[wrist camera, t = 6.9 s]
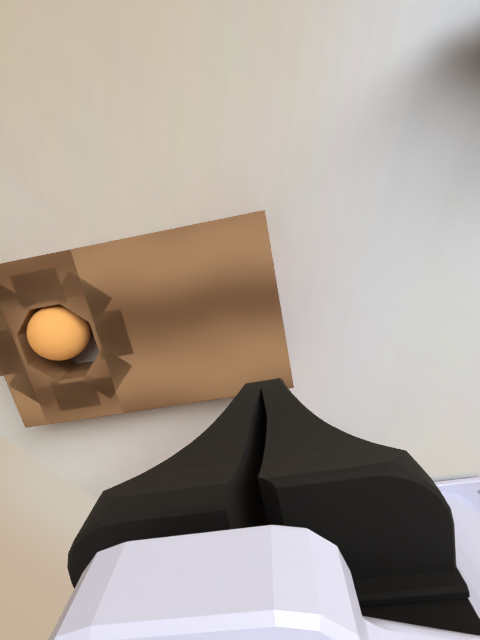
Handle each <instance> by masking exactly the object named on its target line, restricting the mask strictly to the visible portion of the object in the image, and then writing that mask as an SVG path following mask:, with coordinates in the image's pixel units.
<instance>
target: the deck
mask: <svg viewBox="0 0 480 640" xmlns="http://www.w3.org/2000/svg"><path fill="white" fill-rule="evenodd" d="M57 304H61V305H62V306H64V307H66V308H67V309H69V310H70V311H72V312H74V313H75V314H77V315H78V316H80V317H82V318H83V319H85V320H86V321H88V322H89V323H90V326H91V329H92V332H93V335H94V338H95V341H96V344H97V348H98V351H99V354H98V355H97V357H96V359H95V360H94V362H88V363H82V364H76V363H74V362H73V361H71V360H69V359H67V360H61V361H58V360H50V359H46V358H44V357H42V356H40V355H39V354H37V353H36V352H35V351H34V350H33V349H32V348H31V346H30V344H29V342H28V339H27V326H28V323H29V321H30V319H31V318H32V316H33V315H34V314H35V313H36V312H37V311H38V310H40V309H42V308H43V307H47V306H52V305H57ZM3 375H4V377H5V379H6V382H7V384H8V387H9V389H10V391H11V394H12V396H13V399H14V401H15V403H16V406H17V408H18V411H19V413H20V416H21V418H22V420H23V423H24V425H25V427H32V426H39V425H45V424H52V423H59V422H66V421H72V420H79V419H86V418H93V417H99V416H106V415H113V414H119V413H126V412H133V411H140V410H146V409H153V408H160V407H167V406H173V405H180V404H187V403H193V402H200V401H207V400H214V399H220V398H227V397H234V396H236V395H237V394H238V393H239V391H240V390H241V389H242V387H243V386H244V385H245V383H251V382H258V381H264V380H270V379H276V378H281V379H282V380H284V383H285V385H286V386H287V388H294V386H293V380H292V374H291V368H290V362H289V356H288V350H287V344H286V338H285V332H284V326H283V320H282V314H281V307H280V301H279V295H278V289H277V283H276V277H275V271H274V265H273V259H272V253H271V247H270V241H269V235H268V229H267V222H266V216H265V210H263V211H258V212H254V213H249V214H244V215H239V216H234V217H229V218H224V219H219V220H214V221H209V222H204V223H199V224H194V225H189V226H184V227H180V228H175V229H170V230H165V231H160V232H155V233H150V234H145V235H140V236H135V237H130V238H125V239H120V240H115V241H110V242H106V243H101V244H96V245H91V246H86V247H81V248H76V249H71V250H66V251H61V252H56V253H51V254H46V255H41V256H36V257H31V258H27V259H22V260H17V261H12V262H7V263H2V264H0V376H3Z"/></svg>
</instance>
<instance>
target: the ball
mask: <svg viewBox="0 0 480 640" xmlns="http://www.w3.org/2000/svg"><path fill="white" fill-rule="evenodd" d="M90 336H91V327H90V323H89V322H88V321H86V320H85V319H83V318H82V317H80V316H78V315H77V314H75V313H74V312H72V311H70V310H69V309H67V308H66V307H64V306H62V305H61V304H57V305H52V306H47V307H43V308H42V309H40V310H38V311H37V312H36V313H35V314H34V315H33V316H32V318H31V319H30V321H29V323H28V326H27V339H28V342H29V344H30V346H31V348H32V349H33V350H34V351H35V352H36V353H37V354H39V355H40V356H42V357H44V358H46V359H50V360H58V361H61V360H67V359H70V358H73V357H75V356H77V355H78V354H80V353H81V352H82V351H83V350H84V349H85V348H86V346H87V345H88V343H89V340H90Z"/></svg>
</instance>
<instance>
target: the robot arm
mask: <svg viewBox="0 0 480 640" xmlns="http://www.w3.org/2000/svg"><path fill="white" fill-rule="evenodd" d="M479 490H480V477H474V478H465V479H456V480H448V481H439V482H433V480H432V479H431V478H430V477H429V475H428V474H427V473H426V472H425V471H424V470H423V469H422V467H421V466H420V465H419V464H418V463H417V462H416V461H415V460H414V459H413V458H412V456H411V455H410V454H409V453H408V452H407V451H405V450H401V449H396V448H392V447H388V446H384V445H379V444H375V443H372V442H369V441H366V440H363V439H360V438H357V437H355V436H352V435H350V434H347V433H345V432H343V431H341V430H339V429H337V428H335V427H333V426H331V425H329V424H328V423H326V422H324V421H323V420H321V419H320V418H318V417H317V416H316V415H314V414H313V413H312V412H311V411H310V410H308V409H307V408H306V407H305V406H304V405H303V404H302V403H301V402H300V401H299V400H298V399H297V398H296V397H295V396H294V395H293V394H292V393H291V391H290V390H289V389H288V388H287V386H286V385H285V383H284V380H282V379H281V378H276V379H270V380H264V381H258V382H251V383H245V385H244V386H243V387H242V389H241V390H240V391H239V393H238V394H237V395H236V397H235V398H234V399H233V401H232V402H231V403H230V405H229V406H228V407H227V408H226V409H225V411H224V412H223V413H222V414H221V415H220V416H219V417H218V418H217V419H216V420H215V422H214V423H213V424H212V425H211V426H210V427H209V428H208V429H207V430H206V431H204V432H203V433H202V434H201V435H200V436H199V437H197V438H196V439H195V440H194V441H193V442H191V443H190V444H189V445H187V446H186V447H184V448H183V449H182V450H180V451H179V452H177V453H176V454H175V455H173V456H172V457H170V458H169V459H167V460H165V461H164V462H162V463H160V464H159V465H157V466H155V467H153V468H152V469H150V470H148V471H146V472H144V473H142V474H140V475H138V476H136V477H134V478H132V479H130V480H128V481H125V482H123V483H121V484H119V485H117V486H114V487H112V488H110V489H107V490H105V491H103V493H102V494H101V496H100V497H99V499H98V501H97V502H96V504H95V506H94V507H93V509H92V511H91V513H90V514H89V516H88V518H87V520H86V521H85V523H84V524H83V526H82V528H81V530H80V531H79V533H78V535H77V536H76V538H75V540H74V542H73V544H72V547H71V549H70V551H69V553H68V571H69V575H70V579H71V582H72V584H73V587H74V591H73V593H72V595H71V597H70V599H69V601H68V603H67V605H66V607H65V609H64V611H63V613H62V614H61V616H60V618H59V621H58V623H57V624H56V626H55V629H54V631H53V632H52V634H51V636H50V638H49V640H480V491H479Z"/></svg>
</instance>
